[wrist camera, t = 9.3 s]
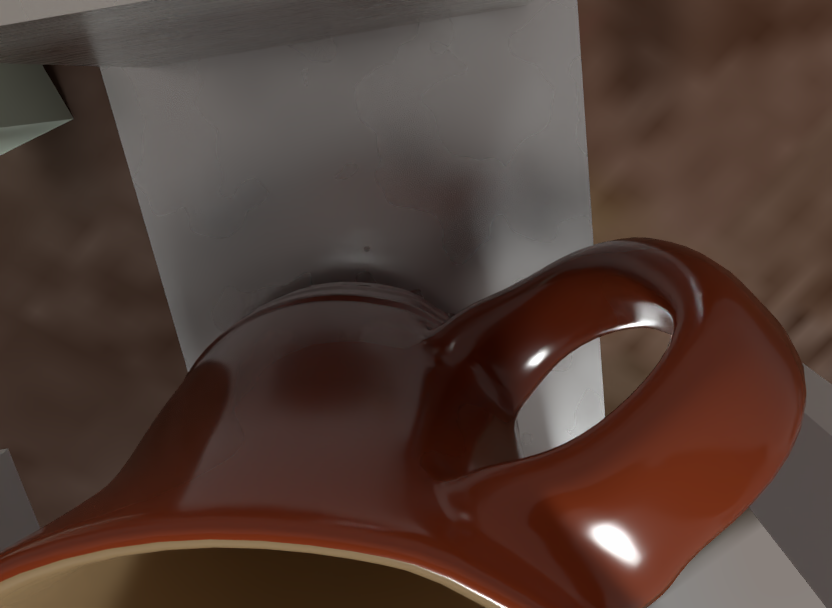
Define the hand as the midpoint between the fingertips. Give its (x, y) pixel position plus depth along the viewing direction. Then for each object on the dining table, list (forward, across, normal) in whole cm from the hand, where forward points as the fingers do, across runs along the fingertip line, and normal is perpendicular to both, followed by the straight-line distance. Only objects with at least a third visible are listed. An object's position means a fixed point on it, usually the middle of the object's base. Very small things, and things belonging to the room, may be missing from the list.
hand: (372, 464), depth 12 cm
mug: (+4, 0, 0) cm, 5 cm away
